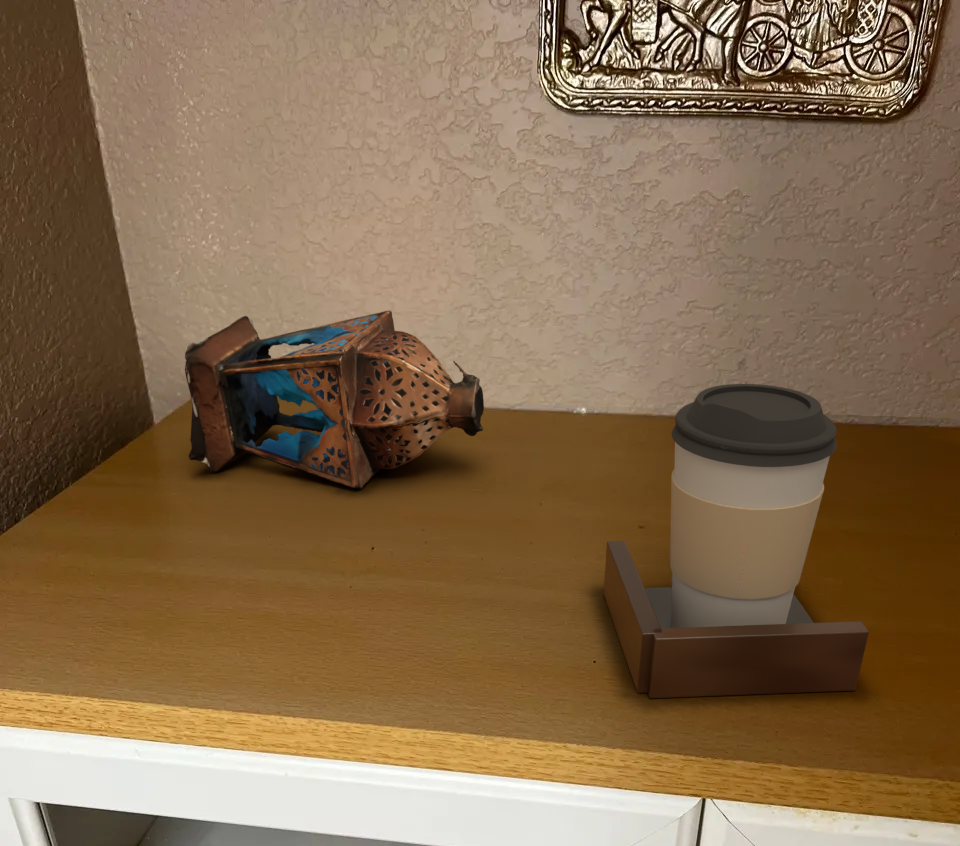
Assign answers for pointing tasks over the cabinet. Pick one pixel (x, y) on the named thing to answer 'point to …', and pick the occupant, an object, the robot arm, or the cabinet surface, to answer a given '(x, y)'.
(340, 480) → the lantern
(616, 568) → the corner guide
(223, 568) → the cabinet surface
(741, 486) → the coffee cup
